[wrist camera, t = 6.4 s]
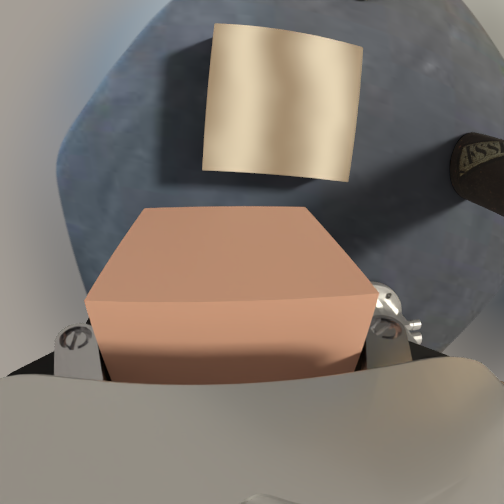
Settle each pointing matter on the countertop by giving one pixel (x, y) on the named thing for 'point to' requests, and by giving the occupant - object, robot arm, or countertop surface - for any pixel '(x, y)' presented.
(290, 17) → the countertop surface
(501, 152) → the container
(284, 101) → the base
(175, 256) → the cube
